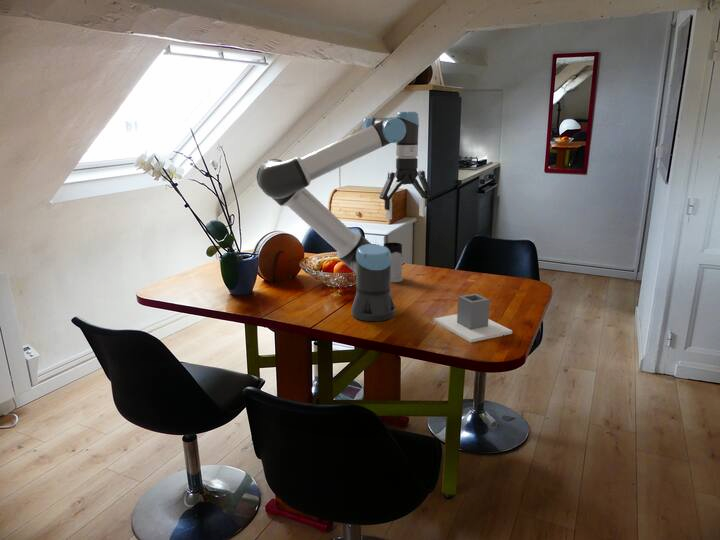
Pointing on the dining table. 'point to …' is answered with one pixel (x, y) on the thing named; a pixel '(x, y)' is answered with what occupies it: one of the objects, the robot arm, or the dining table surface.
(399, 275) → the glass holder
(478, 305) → the block
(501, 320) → the dining table surface
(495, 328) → the base plate
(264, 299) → the dining table surface
